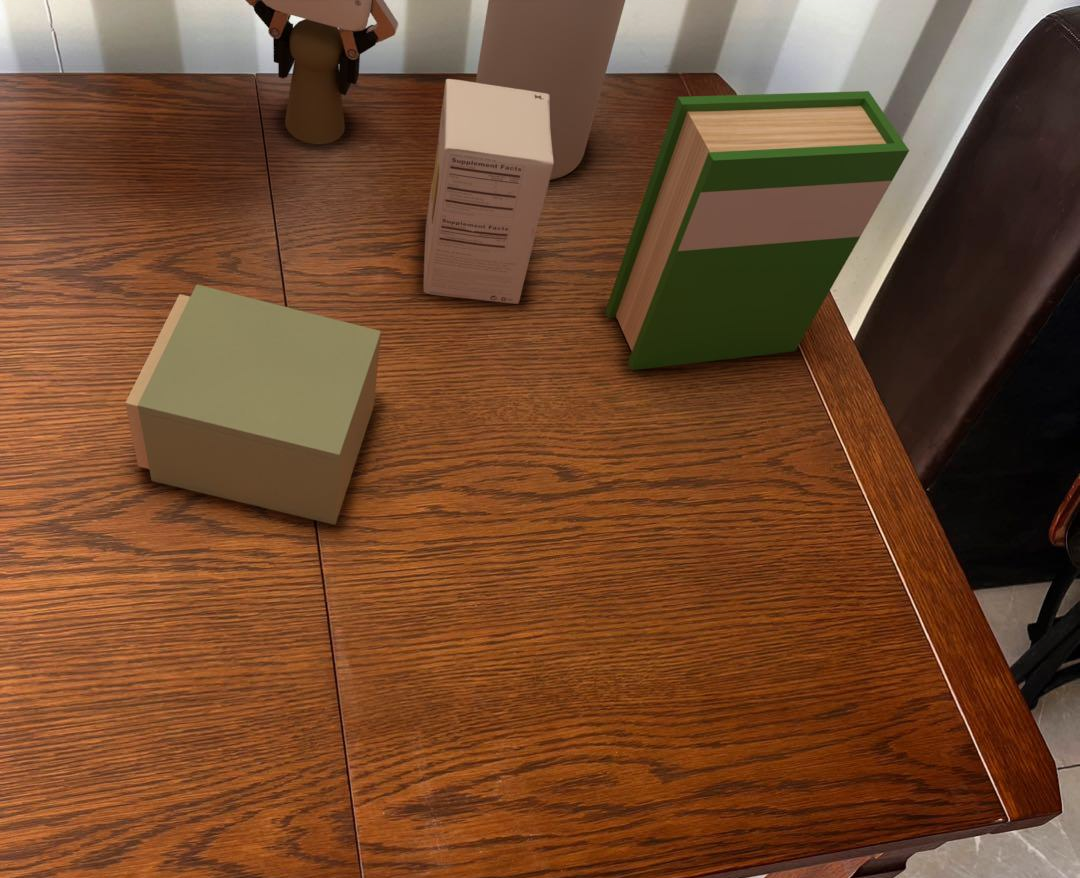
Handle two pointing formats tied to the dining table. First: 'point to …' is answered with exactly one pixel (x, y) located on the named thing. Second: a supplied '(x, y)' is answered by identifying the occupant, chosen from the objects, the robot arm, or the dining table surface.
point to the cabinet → (260, 404)
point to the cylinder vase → (553, 62)
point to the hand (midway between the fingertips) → (316, 76)
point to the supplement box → (486, 190)
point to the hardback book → (749, 222)
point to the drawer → (146, 376)
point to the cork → (315, 83)
